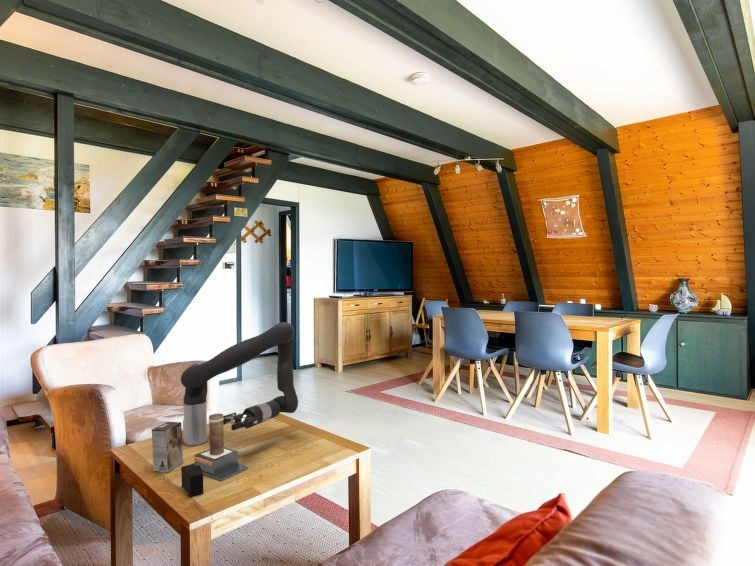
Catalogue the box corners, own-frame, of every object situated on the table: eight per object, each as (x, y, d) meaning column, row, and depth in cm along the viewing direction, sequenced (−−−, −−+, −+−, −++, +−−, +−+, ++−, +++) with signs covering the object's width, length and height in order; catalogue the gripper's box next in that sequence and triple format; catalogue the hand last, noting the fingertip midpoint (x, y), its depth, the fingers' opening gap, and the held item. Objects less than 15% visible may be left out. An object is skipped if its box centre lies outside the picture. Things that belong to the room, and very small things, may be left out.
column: (206, 453, 174) (205, 416, 173) (218, 449, 178) (217, 412, 178) (215, 456, 171) (214, 418, 171) (227, 451, 175) (226, 414, 175)
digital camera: (207, 493, 156) (206, 472, 156) (190, 498, 153) (190, 476, 153) (197, 481, 164) (197, 462, 164) (181, 486, 161) (181, 466, 161)
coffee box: (168, 461, 182) (167, 421, 181) (183, 463, 180) (182, 421, 180) (152, 472, 173) (151, 429, 172) (167, 473, 171) (166, 430, 171)
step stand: (186, 468, 175) (186, 452, 175) (213, 457, 185) (213, 442, 185) (221, 481, 164) (220, 464, 164) (247, 469, 174) (247, 452, 174)
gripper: (245, 402, 195) (212, 412, 181) (269, 408, 187) (236, 419, 173) (245, 420, 195) (213, 432, 182) (269, 426, 187) (237, 439, 174)
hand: (224, 425), depth 177 cm, fingers open, 8 cm apart
